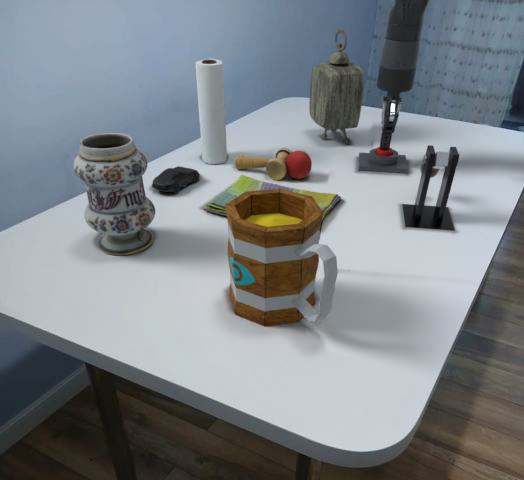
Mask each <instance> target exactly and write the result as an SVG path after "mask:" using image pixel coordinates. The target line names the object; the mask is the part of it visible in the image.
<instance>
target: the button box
mask: <svg viewBox="0 0 524 480" xmlns="http://www.w3.org/2000/svg"><path fill="white" fill-rule="evenodd" d="M377 148H378V147H376V148H375V147H374V148H372V149H370V150H369V152H359V153H358V160H357V161H358V163H357V164H358V167H357V172H367V173H368V172H369V173H384V174H401V175H407V174H408V171H409V167H408V161H407V155H406V154H399V152H398V151H397V150H395V149H393V148H392V155H391V156H381V155H377V154H376V150H377Z"/></svg>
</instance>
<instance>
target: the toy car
mask: <svg viewBox="0 0 524 480" xmlns="http://www.w3.org/2000/svg"><path fill="white" fill-rule="evenodd" d="M200 177H201V174H200V172H199V171H198V170H196V169H194V168H190V167H186V166H185V167H184V166H180V165H179V166H175V167H170V168H169V167H168V168H166V169H164V170H163V171H162V172H160V174H158V175H157V176H155V177H154V178H153V180H152V183H151V187H152V189H154V190H156V191H161V192H166V193H167V192H168V193H174V194H178V193H179V191H180V189H182V188H186V187H187V185H189V184H190V183H193V182H194V183H197V182H199V180H200Z"/></svg>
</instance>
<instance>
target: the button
mask: <svg viewBox="0 0 524 480" xmlns="http://www.w3.org/2000/svg"><path fill="white" fill-rule="evenodd" d="M376 148H377V150H376V154H377V155H381V156H391V155H392V149H393V148H392V147H390V149H389V150H381V149H380V146H378V147H376Z"/></svg>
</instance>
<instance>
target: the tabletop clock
mask: <svg viewBox="0 0 524 480" xmlns="http://www.w3.org/2000/svg"><path fill="white" fill-rule="evenodd" d="M339 34H342V36H343V40H344V45H343V43H342V42H339V43H338V36H339ZM347 44H348V36H347V33H346V31H344V29H341V28H339V29H338V30H336V32H335V37H334V45H335V48H336V49H337V51H334V52H333V53H331V55H330V56H329V58H328V61H327V62H319V63H318V64H316V65H315V66H313V68H312V69H311V74H310V84H309V85H310V86H309V107H308V109H309V111H308V112H309V116H310V118H311V120H312V121H313V122H314V123H315V124H317V125H318V126H319V127H321V128H323V129H324V132H323V133H321V135H320V138H321V140H323V141H325V140H327V138H328V135H327V133H328V131H331V132H333V133H335V132H336V131H337V130H339V131H340V132H341V133H342V134H343V136H344V138H345V139H344V143H345V145H351V143H352V140H351V138H350V137H348V135H347V132H346V130H348V129H356V128H358V126H359V122H360V118H361V111H362V105H363V96H364V83H365V82H364V81H365V79H364V78H365V75H364V71H363V70H362V68H361V67H360V66H359V65H357V64H356V63H355V62H352V61H350V59H349V56H348V54H347V53H346V52H345V50H346V47H347Z"/></svg>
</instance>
